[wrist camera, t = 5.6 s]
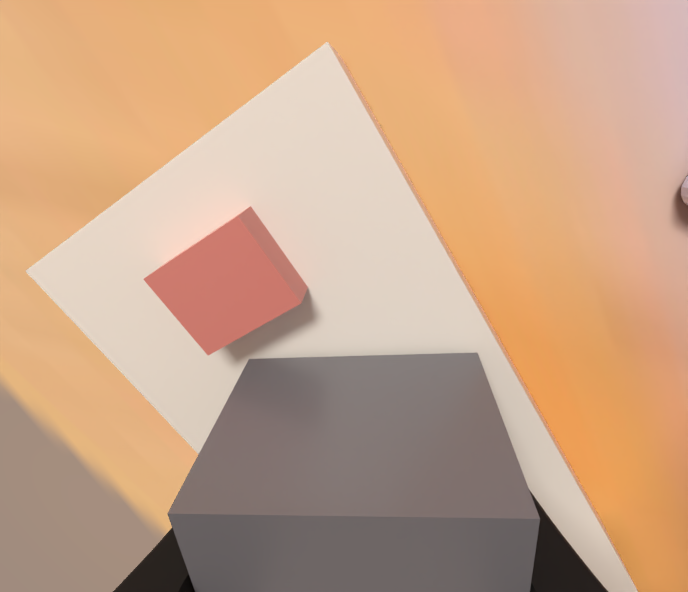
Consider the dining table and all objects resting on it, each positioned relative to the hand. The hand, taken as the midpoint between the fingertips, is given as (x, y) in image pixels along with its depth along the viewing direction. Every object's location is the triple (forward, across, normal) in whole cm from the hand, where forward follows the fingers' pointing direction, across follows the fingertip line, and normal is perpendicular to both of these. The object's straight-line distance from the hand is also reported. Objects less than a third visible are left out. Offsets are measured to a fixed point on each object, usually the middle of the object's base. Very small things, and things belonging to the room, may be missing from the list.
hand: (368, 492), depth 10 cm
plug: (+3, 0, 0) cm, 3 cm away
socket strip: (+4, -1, +2) cm, 4 cm away
